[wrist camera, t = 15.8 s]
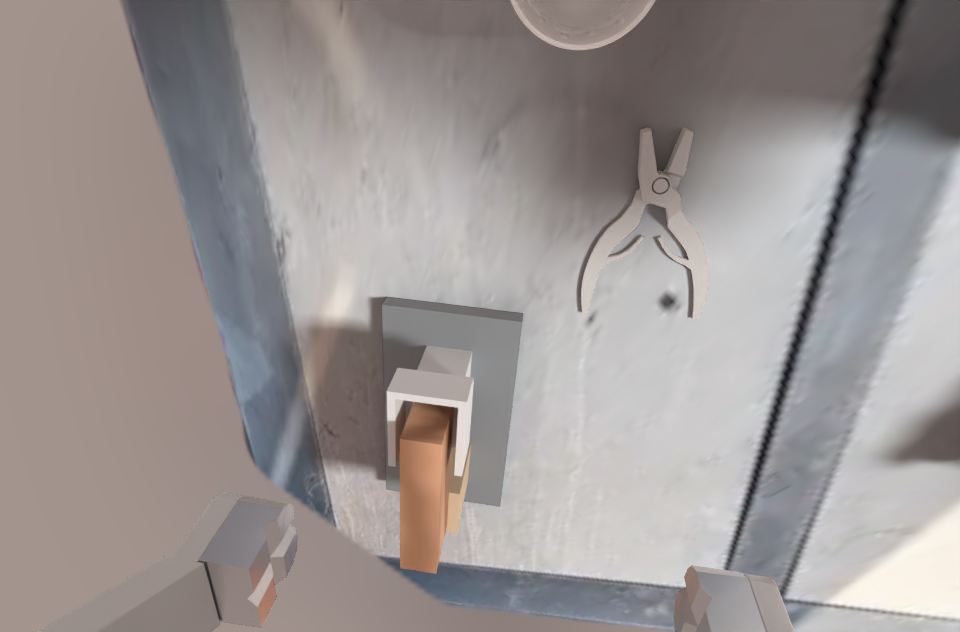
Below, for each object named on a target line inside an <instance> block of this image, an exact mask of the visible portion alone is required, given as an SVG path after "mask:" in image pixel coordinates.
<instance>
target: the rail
mask: <svg viewBox="0 0 960 632" xmlns="http://www.w3.org/2000/svg"><path fill="white" fill-rule="evenodd" d="M453 413H454V407H449V406H442V405H434V404H427V403H420V402H414V403H413V406H412V408H411V411H410V413H409V416H408V419H407V421H406V424H405V426H404V429H403V432H402V434H401V437H400V568H404V569H410V570H416V571H422V572H428V573H434V574H436V572H437V567H438V563H439V558H440V554H441V550H442V545H443V541H444V536H445V532H446V527H447V518H448V501H449V483H450V466H451V448H452V431H453Z"/></svg>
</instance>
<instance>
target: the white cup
mask: <svg viewBox="0 0 960 632" xmlns="http://www.w3.org/2000/svg"><path fill="white" fill-rule="evenodd" d="M510 1H511V3H512V6H513V8H514V10H515V11H516V13H517V15H518V16H519V18H520V19H521V21H522V22H523V23H524V24H525V26H526V27H527V28H528V29H529V30H530V31H531V32H532V33H533V34H535V35H536V36H537V37H539V38H540V39H542V40H543V41H545V42H547V43H549V44H551V45H553V46H556V47H559V48H563V49H569V50H589V49H594V48H598V47H602V46H605V45H607V44H610V43H612V42H614V41H616V40H618V39H619V38H621V37H622V36H624V35H625V34H627V33H628V32H629V31H631V30H632V29H633V28H634V27H635V26H636V25H637V24H638V23H639V22H640V21H641V20H642V19H643V18H644V17H645V15H646V14H647V13H648V11H649V10H650V9H651V7H652V6H653V4H654V2H655V1H656V0H510Z"/></svg>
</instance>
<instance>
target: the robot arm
mask: <svg viewBox="0 0 960 632" xmlns="http://www.w3.org/2000/svg"><path fill="white" fill-rule="evenodd" d="M294 516H295V514H294V509H293V505H292V504H287V503H282V502H276V501H270V500H266V499H260V498H255V497H249V496H244V495H238V494H232V493H225V492H221V493H220V494H218V495H217V496H216V497H214V498H213V500H212V501H211V502H210V504H209V505H208V507H207V508H206V509H205V511H204V512H203V513H202V515H201V516H200V518H199V519H198V520H197V522H196V523H195V525H194V526H193V527H192V529H191V530H190V532H189V533H188V534H187V536H186V537H185V538H184V540H183V541H182V543H181V544H180V545H179V547H178V548H177V549H176V551H175V552H174V553H173V555H172V557H166V556H163V557H162V558H160V559H158V560H157V561H155V562H153V563H152V564H150V565H148V566H147V567H145V568H143V569H142V570H140V571H138V572H137V573H135V574H133V575H131V576H130V577H128V578H126V579H125V580H123V581H121V582H120V583H118V584H116V585H115V586H113V587H111V588H109V589H108V590H106V591H105V592H103V593H101V594H99V595H98V596H96V597H94V598H93V599H91V600H89V601H88V602H86V603H84V604H82V605H81V606H79V607H77V608H76V609H74V610H72V611H71V612H69V613H67V614H66V615H64V616H62V617H61V618H59V619H57V620H56V621H54V622H52V623H51V624H49V625H47V626H45V627H44V628H42V629H40V630H39V631H37V632H212V631H214V630H215V629H216V628H217V627H218V626H219V625H220V622H224V623H231V624H238V625H245V626H252V627H259V628H262V626H263V624H264V622H265V620H266V618H267V616H268V614H269V612H270V610H271V608H272V606H273V604H274V602H275V600H276V598H277V594H276V588H275V585H276V584H277V583H279V582H280V581H281V580H283V579H284V578H286V577H287V575H288V573H289V571H290V569H291V567H292V565H293V561H294V558H295V554H296V551H297V542H298V536H297V530H296V529H295V528H294V527H293V526H292V525H291V522H292V520H293V518H294ZM684 578H685V583H686V588H684V589H682V590H680V591H679V592H678V595H677V598H676V601H675V608H674V628H675V632H794V629H793V627H792V624H791V621H790V619H789V616H788V614H787V611H786V608H785V606H784V603H783V601H782V598H781V595H780V593H779V590H778V588H777V585H776V583H775V582H774V581H773V579H772V578H769V577H763V576H757V575H750V574H742V573H741V572H734V571H727V570H720V569H713V568H706V567H699V566H690V567H689V568H688V569H687V572H686V574H685V577H684Z"/></svg>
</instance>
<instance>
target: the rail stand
mask: <svg viewBox="0 0 960 632" xmlns="http://www.w3.org/2000/svg"><path fill="white" fill-rule="evenodd" d="M522 319H523V313H515V312H507V311H499V310H490V309H482V308H474V307H466V306H457V305H449V304H441V303H433V302H424V301H416V300H408V299H400V298H392V297H386V299H385V301H384V302H383V304H382V332H383V373H384V414H385V455H386V489H387V490H393V491H400V437H401V434H402V432H403V429H404V426H405V424H406V421H407V419H408V416H409V413H410V411H411V408H412V406H413V403H414V402H420V403H427V404H434V405H442V406H449V407H454V413H453V431H452V448H451V466H450V483H449V501H448V518H447V527H446V532H451V533H457V532H458V527H459V522H460V518H461V513H462V508H463V503H464V501H466V502H473V503H479V504H486V505H493V506H499V507H500V502H501V494H502V486H503V478H504V469H505V461H506V453H507V444H508V436H509V427H510V419H511V411H512V402H513V394H514V386H515V377H516V369H517V361H518V352H519V344H520V335H521V327H522Z"/></svg>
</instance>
